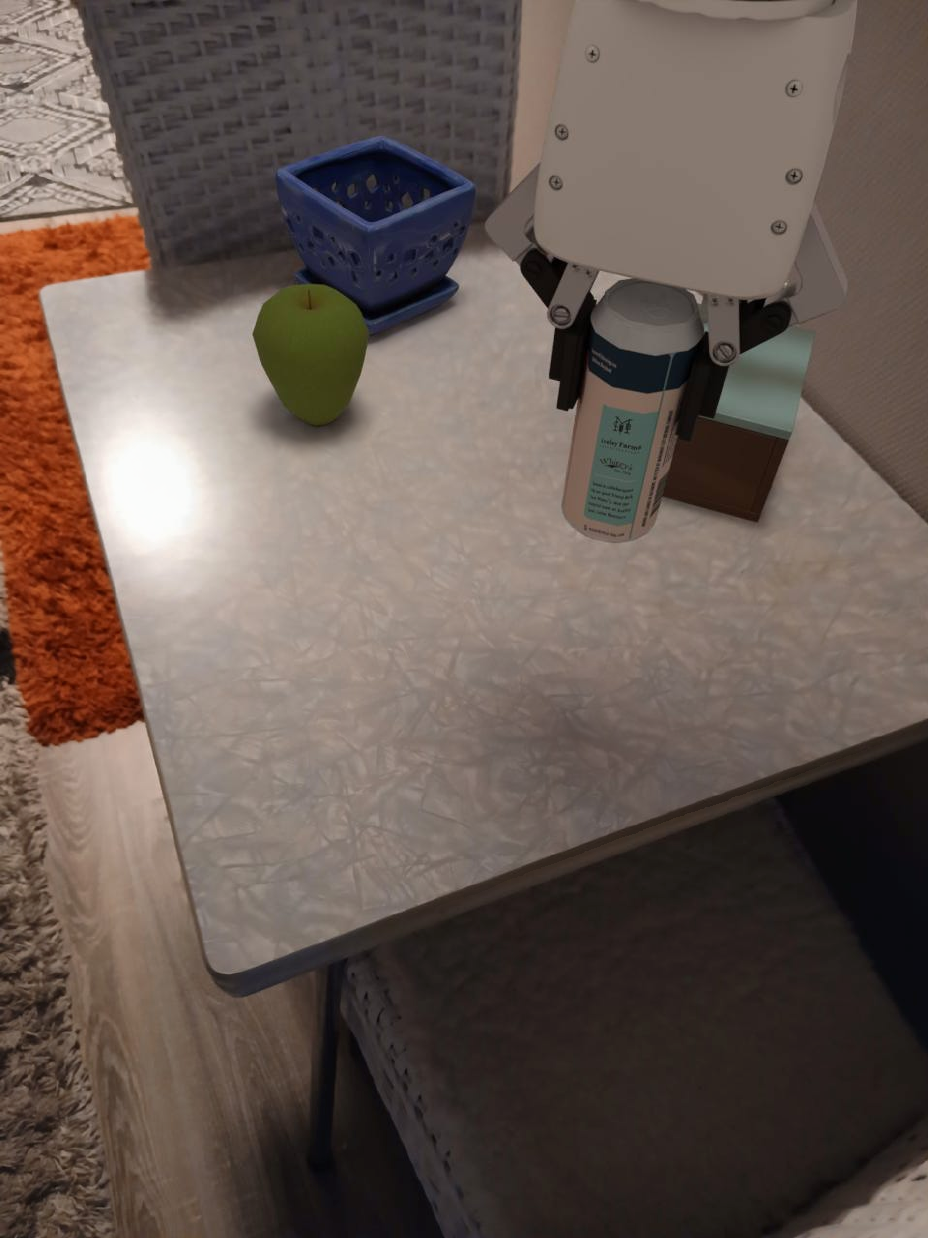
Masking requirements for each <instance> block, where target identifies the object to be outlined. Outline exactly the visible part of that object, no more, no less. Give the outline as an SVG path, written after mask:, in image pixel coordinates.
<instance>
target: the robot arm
mask: <svg viewBox="0 0 928 1238" xmlns="http://www.w3.org/2000/svg"><path fill="white" fill-rule="evenodd" d="M857 10H858V0H574V4H573V7H572V11H571V14H570V18H569V22H568V26H567V31H566V34H565V37H564V42H563V47H562V51H561V54H560V55H561V56H560V60H559V63H558V68H557V73H556V79H555V83H554V89H553V93H552V98H551V103H550V108H549V113H548V118H547V123H546V128H545V129H546V130H545V134H544V139H543V145H542V151H541V157H540V161H539V162H538V163H537V164H536V165H535V167H534V168H533V169H532V170H530V172H529V173H527V175H526V176H525V177H524V178H523V179H522V180H521V181H520V182H519V183H518V184H517V185H516V186H515V187H514V188H513V189H512V190H511V192H509V193H508V194H507V195H506V196H505V198H503V199H502V201H501V202H500V203H498V205H497V206H495V208H494V209H493V211H492V213H490V215H489V216H488V218H487V219H486V221H485V223H484V230H485V233H486V234H487V236H488V237H489V238H490V239H491V240H492V241H493V242H494V243H495V244H496V245H497V246H498V247H499V248H500V250H501V251H502V252H503V253H504V254H505V255H506V256H507V257H508V258H509V259H510V260H511V261H512V263H514V262H515V263H516V264H517V265H518V266H519V270H520V273H521V275H522V277H523V278H524V279H525V281H526V282H527V283H528V284H529V286H530V287H531V288H532V290H533V291H534V293H535V294H536V295H537V296H538V298H539V299H540V301H541V302H542V303H543V305H544V306H545V307H546V308H547V311H546V317H547V320H548V322H549V323H550V325H551V326H553V327H554V332H553V340H552V347H551V348H552V349H551V355H550V363H549V371H548V379H549V380H552V381H556V382H559V385H558V391H557V392H558V393H557V399H556V408H555V409H556V410H559V411H564V412H569V411H570V410H574V408H575V406H576V405H577V402H578V398H579V393H580V386H581V380H582V374H583V367H584V361H585V355H586V348H587V342H588V336H589V329H590V319H591V313H592V311H593V308H594V307H595V305H597V303H598V299H595V296H594V294H593V293H592V292H591V291H592V288H593V287H594V285H595V282H596V279H597V278H598V276H599V273H600V272H603V273H604V272H605V273H608V274H612V275H618V276H622V277H627V278H629V279H631V278H635V279H639V280H644V281H649V282H653V283H658V284H663V285H667V286H672V287H677V288H681V289H686V290H687V291H690V292H696V293H699V294H704V293H705V294H707V310H708V332H707V331H705V332H704V336H703V339H702V343H701V345H700V346H699V349H698V352H697V355H696V357H695V360H694V363H693V367H692V370H691V374H690V378H689V382H688V386H687V390H686V394H685V398H684V402H683V406H682V410H681V414H680V418H679V422H678V426H677V430H676V434H675V435H677V436H679V439H680V440H684V441H688V442H690V441H691V438H692V435H693V432H694V429H695V426H696V423H697V420H698V417H699V415H700V416H704V417H708V418H712V419H714V417H715V414H716V410H717V407H718V404H719V400H720V397H721V394H722V390H723V387H724V383H725V380H726V376H727V373H728V369H729V366H730V365H732V364H734V363H735V362H736V361H737V360H738V358H739V355H740V354H742V353H744V352H746V351H748V350H750V349H752V348H754V347H756V346H758V345H760V344H762V343H764V342H766V341H768V340H769V339H771V338H773V337H775V336H777V335H779V334H781V333H783V332H784V331H785V330H786V329H787V328H788V327H789V326H795V325H797V324H798V325H802V324H805V323H806V322H809V321H811V320H812V321H813V320H814V319H816V318H819V317H822V316H825V315H827V314H829V313H833V312H836V311H838V310H839V309H840V308H842V307H843V306H844V304H845V302H846V296H847V293H848V292H847V291H848V287H849V283H848V278H847V275H846V273H845V271H844V269H843V266H842V263H841V261H840V258H839V256H838V254H837V251H836V249H835V246H834V244H833V242H832V240H831V237H830V234H829V233H828V230H827V227H826V225H825V222H824V220H823V218H822V215H821V213H820V210H819V208H818V205H817V203H816V199H817V195H818V191H819V188H820V183H821V180H822V177H823V172H824V169H825V166H826V165H825V164H826V161H827V157H828V153H829V149H830V146H831V141H832V137H833V134H834V131H835V127H836V123H837V119H838V114H839V112H840V108H841V103H842V98H843V94H844V90H845V86H846V85H845V84H846V81H847V80H846V79H847V75H848V71H849V66H850V65H849V64H850V60H851V54H852V48H853V42H854V35H855V28H856V20H857ZM793 266H795V268H796V271H797V273H798V275H799V277H800V279H799V280H797V281H795V282H792V283H790V285H789V286H787V287H786V288H783V286H784V285H785V283H786V281H787V279H789V276H790V275H791V271H792V269H793Z"/></svg>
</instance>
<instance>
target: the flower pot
mask: <svg viewBox="0 0 928 1238" xmlns="http://www.w3.org/2000/svg"><path fill="white" fill-rule="evenodd" d="M372 176H373V177H374V179H375V185H374V186H372V187H371V188H370V189H369V186H368V185H367V181H368V180H369V179H370V177H372ZM334 184H335V186H334V188H333V185H334ZM275 185H276V192H277V193H276V194H277V197H278V203H279V207H280V211H281V214H282V219H283V221H284V225H285V227H286V230H287V233H288V235H289V238H290V240H291V243H292V245H293V247H294V249H295V250H296V252H297V255H298V256H299V258H300V259H301V261H302V262H303V264H304V265H305V266H304V267H303V268H300V269H298V270H296V271H295V272H294V273H293V276H294V279H295V281H296V283H297V284H298V285H301V284H320V285H326V286H328V287H331V288H333V289H335V290H337V291H339V292H340V293H341V294H343V295H344V296H346V297H347V298H348V299H350V300H351V301H352V302H353V303H355V304H356V305H357V307H358V308H359V310H360V312H361V313H362V315H363V318H364V320H365V323H366V325H367V328H368V330H369V333H370V334H369V335H375V334H379V333H380V332H383V331H385V330H388V329H389V328H392V327H394V326H396V325H399V324H402V323H403V322H406V321H409V320H410V319H412V318H414V317H417V316H419V315H421V314H423V313H425V312H428V311H430V310H432V309H434V308H436V307H439V306H441V305H443V304H444V303H446V302H447V301H449V300H450V299H451V298H452V297H453V296H455V294H457V292H459V289H460V284H459V282H458V283H457V281H455V280H454V279H453V278H451V277H449V276H448V275H447V274H448V273H449V271H450V270H451V269H452V267H453V265H454V264H455V262H456V260H457V258H458V256H459V254H460V252H461V250H462V247H463V245H464V242H465V240H466V237H467V235H468V231H469V229H470V224H471V221H472V215H473V212H474V206H475V200H476V191H477V188H476V185H475V183H473V182H472V181H471V180H470V179H467V178H466V177H465V176H463V175H462V174H459V173H458V172H456V171H455V170H452V169H451V168H449V167H448V166H445V165H444V164H442V163H440V162H438V161H436V160H435V159H433V158H431V157H429V156H427V155H425V154H423V153H422V152H420V151H417V150H415V149H414V148H411V147H410V146H408V145H406V144H404V143H402V142H400V141H398V140H395V139H392V138H390V137H388V136H385V135H377V136H372V137H370V138H365V139H362V140H359V141H356V142H353V143H348V144H346V145H343V146H340V147H336V148H334V149H331V150H329V151H325V152H322V153H319V154H317V155H314V156H311V157H307V158H305V159H302V160H300V161H299V160H298V161H296V162H294V163H291V164H288V165H285V166H283V167H280V168H278V169H277V170H276V172H275ZM352 185H353V188H354V189H353V190H354V191H353V192H352V193H348V190H349V187H350V186H352ZM425 190H427V191H428V192H429V198H428V199H426V200H425ZM407 193H408V195H409V198H410V200H411V201H412V204H411V206H410V207H407V208H406V207H405V204H404V202H403V198H404V196H405V195H406V194H407ZM337 202H338V203H337ZM365 204H366V205H365ZM391 204H392V208H391V207H390V205H391Z"/></svg>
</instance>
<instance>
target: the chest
mask: <svg viewBox="0 0 928 1238" xmlns="http://www.w3.org/2000/svg"><path fill="white" fill-rule="evenodd" d="M789 441H790V439H789V440H786V439H782V438H778V437H774V436H770V435H766V434H762V433H759V432H755V431H751V430H747V429H743V428H739V427H736V426H732V425H728V424H724V423H720V422H716V421H712V420H709V419H705V418H701V417H698V420H697V423H696V426H695V429H694V432H693V435H692V438H691V441H690V442H688V441H684V440H680V439H679V436H678V437H677V441H676V445H675V449H674V453H673V457H672V460H671V464H670V468H669V472H668V476H667V480H666V484H665V488H664V492H663V496H662V497H665V498H669V499H672V500H676V501H680V502H683V503H687V504H690V505H694V506H697V507H701V508H705V509H708V510H711V511H715V512H720V513H723V514H726V515H730V516H734V517H737V518H741V519H744V520H749V521H751V522H754V523H755V522H756V523H758V522H759V520H760V518H761V515H762V513H763V510H764V508H765V504H766V502H767V499H768V497H769V494H770V491H771V489H772V486H773V485H774V482H775V479H776V476H777V474H778V471H779V468H780V466H781V463H782V460H783V458H784V454H785V452H786V450H787V447H788V444H789Z"/></svg>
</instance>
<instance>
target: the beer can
mask: <svg viewBox="0 0 928 1238" xmlns="http://www.w3.org/2000/svg"><path fill="white" fill-rule="evenodd" d="M697 303H698V302H697V299H696V296H695V294H694V293H693V292H692V291H690V290H686V289H681V288H677V287H672V286H667V285H663V284H658V283H653V282H649V281H644V280H639V279H635V278H623V279H619V280H617V281H616V282H615V283H613V284H612V285H611V286H610V287H608V288H607V290H605V291H604V294H603V296H601V298H600V299H599V301H597V303H596V305H595V307H594V308H593V311H592V313H591V319H590V329H589V336H588V342H587V348H586V355H585V361H584V367H583V374H582V380H581V386H580V393H579V398H578V400H577V402H576V410H575V415H574V423H573V428H572V429H573V430H572V435H571V441H570V448H569V453H568V460H567V466H566V473H565V479H564V485H563V493H562V499H561V506H560V507H561V512H562V515H563V517H564V519H565V521H566V522H567V523H568V524H569V525H570V526H571V528H573V529H574V530H576V531H577V532H578V533H580V534H581V535H583V536H584V537H586V538H589V539H591V540H595V541H600V542H604V543H611V544H621V543H629V542H632V541H636V540H638V539H640V538H642V537H643V536H645V535H647V534H648V533H649V532H650V531H651V530H652V528H653V527H654V526H655V523H656V522H657V519H658V516H659V511H660V507H661V503H662V500H663V497H664V496H663V492H664V488H665V484H666V480H667V476H668V472H669V468H670V464H671V460H672V457H673V453H674V449H675V445H676V441H677V437H678V436H677V435H675V434H676V430H677V426H678V422H679V418H680V414H681V410H682V406H683V402H684V398H685V394H686V390H687V386H688V382H689V378H690V374H691V370H692V367H693V363H694V360H695V357H696V355H697V352H698V349H699V346H700V345H701V343H702V339H703V336H704V325H703V321H702V319H701V317H700V314H699V307H698V304H697Z"/></svg>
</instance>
